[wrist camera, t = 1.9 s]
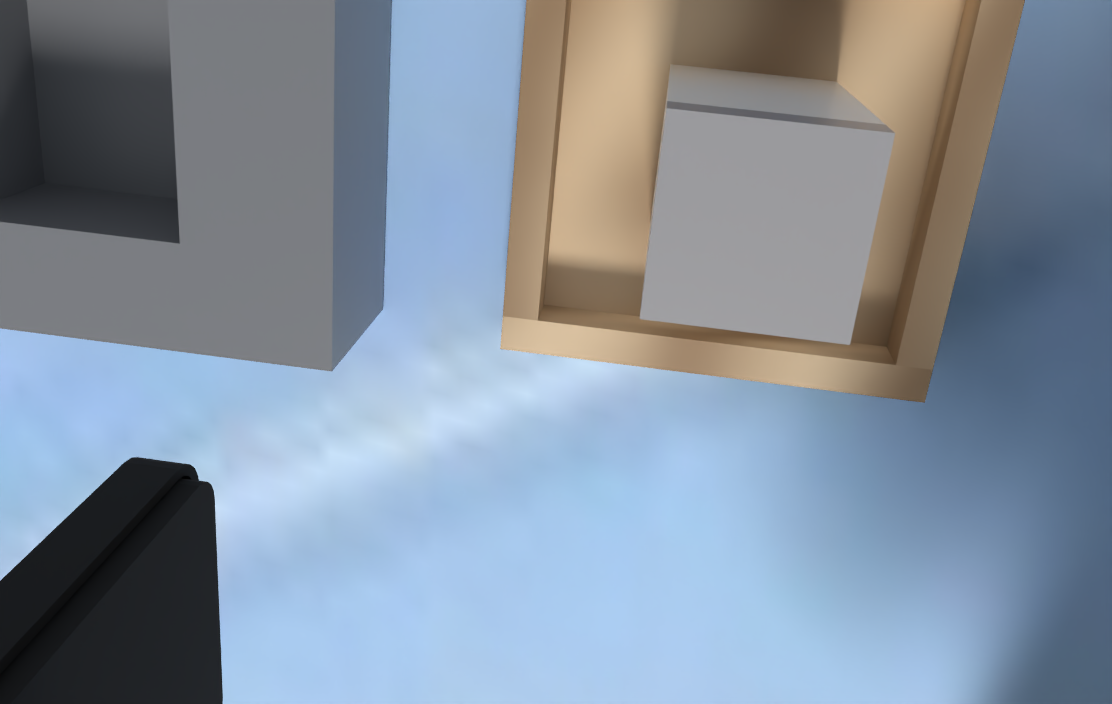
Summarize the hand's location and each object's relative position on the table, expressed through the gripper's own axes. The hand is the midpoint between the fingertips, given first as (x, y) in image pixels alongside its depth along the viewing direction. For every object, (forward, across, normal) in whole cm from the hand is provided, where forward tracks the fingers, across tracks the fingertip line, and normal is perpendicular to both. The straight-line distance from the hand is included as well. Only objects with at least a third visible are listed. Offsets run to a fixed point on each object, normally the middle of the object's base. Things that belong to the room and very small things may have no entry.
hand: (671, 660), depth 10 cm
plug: (+20, -2, -1) cm, 20 cm away
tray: (+21, -2, -1) cm, 21 cm away
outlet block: (+21, +15, -1) cm, 26 cm away
